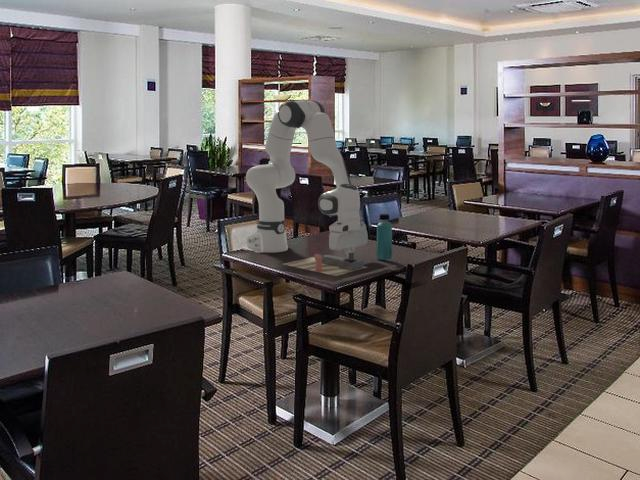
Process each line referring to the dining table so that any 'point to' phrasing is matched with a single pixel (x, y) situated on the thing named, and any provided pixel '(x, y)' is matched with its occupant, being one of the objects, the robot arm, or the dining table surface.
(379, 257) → the beverage bottle
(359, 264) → the link
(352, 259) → the pintle
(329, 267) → the base board
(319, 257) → the keeper
